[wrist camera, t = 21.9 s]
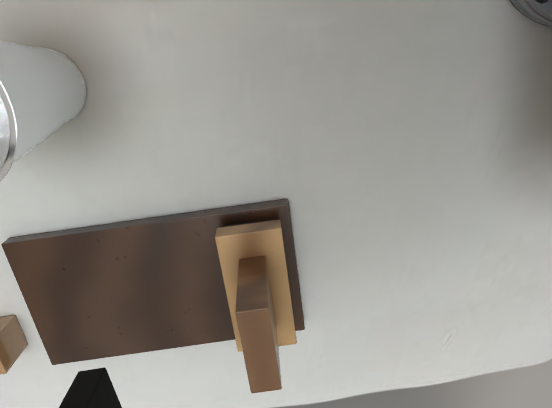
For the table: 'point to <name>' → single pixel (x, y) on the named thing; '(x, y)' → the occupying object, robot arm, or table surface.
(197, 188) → the table surface
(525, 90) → the table surface
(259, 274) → the tan slab with handle
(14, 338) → the tan blocky piece
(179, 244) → the board
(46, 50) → the metal cup with straw
